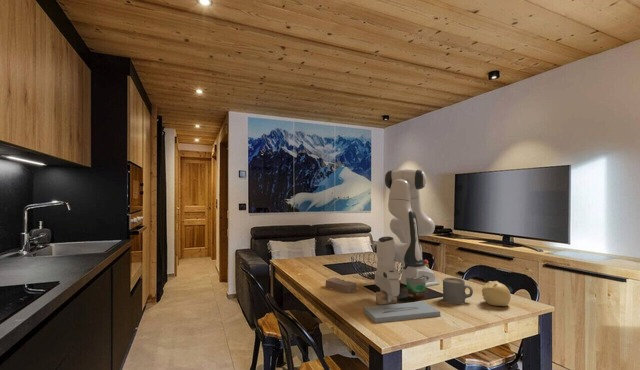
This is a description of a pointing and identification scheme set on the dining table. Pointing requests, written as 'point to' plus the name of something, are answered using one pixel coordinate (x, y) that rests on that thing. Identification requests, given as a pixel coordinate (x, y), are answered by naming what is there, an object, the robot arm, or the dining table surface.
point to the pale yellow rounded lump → (496, 293)
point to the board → (401, 311)
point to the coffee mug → (455, 290)
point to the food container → (416, 287)
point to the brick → (341, 285)
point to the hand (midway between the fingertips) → (386, 299)
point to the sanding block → (384, 299)
